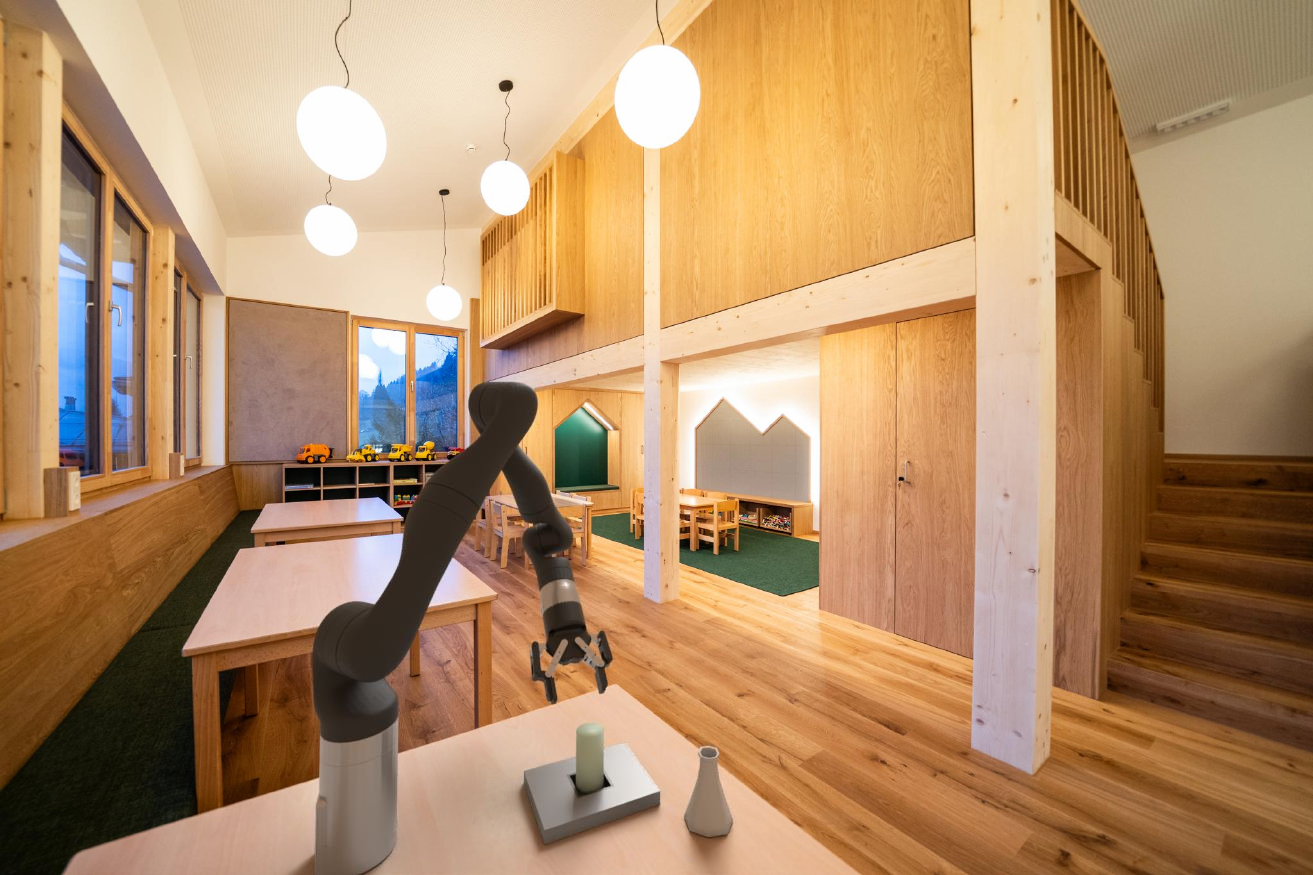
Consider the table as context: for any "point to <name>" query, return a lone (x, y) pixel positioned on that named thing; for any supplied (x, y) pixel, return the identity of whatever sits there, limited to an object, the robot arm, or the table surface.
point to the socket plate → (588, 794)
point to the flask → (708, 798)
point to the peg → (589, 758)
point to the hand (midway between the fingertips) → (579, 697)
